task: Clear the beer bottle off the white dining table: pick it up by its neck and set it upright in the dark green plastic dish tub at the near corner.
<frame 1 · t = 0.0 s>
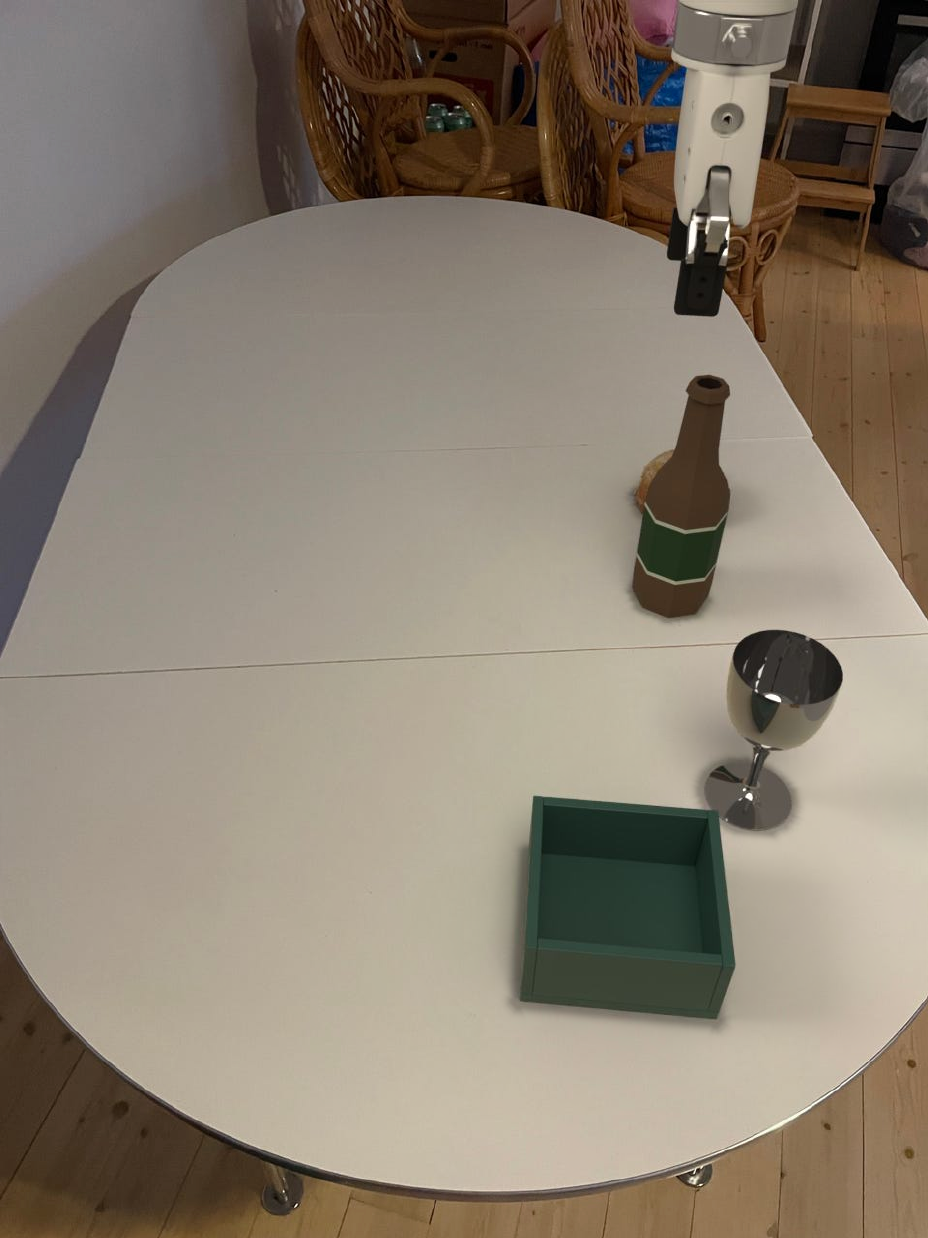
hand: (690, 285, 80), 34 cm above the table, tool pointing down, fingers open, 9 cm apart
beer bottle: (669, 596, 106), on the table
wine glass: (747, 796, 87), on the table
bread roll: (679, 505, 117), on the table
dish tub: (616, 930, 77), on the table
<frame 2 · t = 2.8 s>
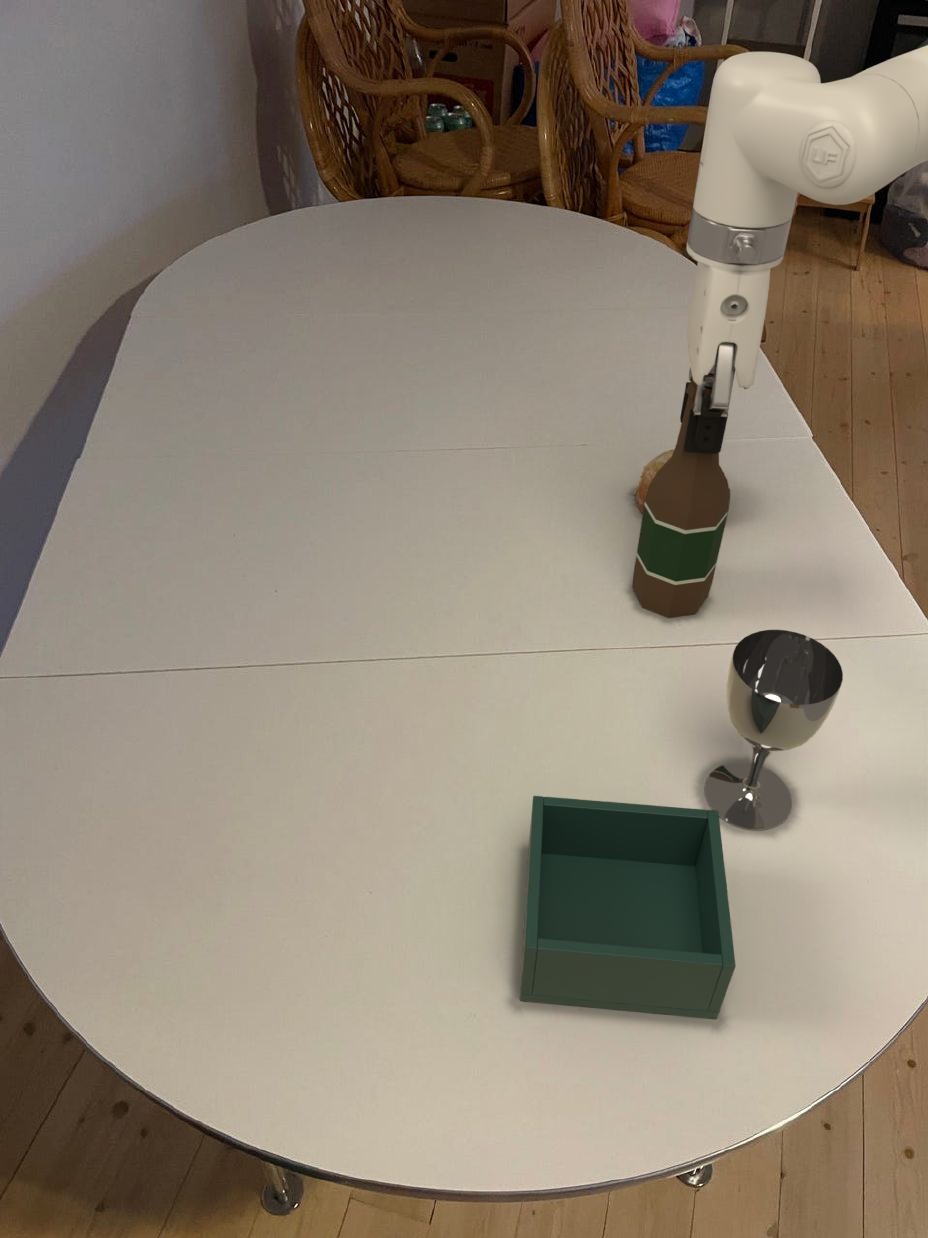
hand: (699, 435, 93), 19 cm above the table, tool pointing down, fingers closed on beer bottle, 3 cm apart
beer bottle: (669, 596, 106), on the table, touching gripper
everything else where it was.
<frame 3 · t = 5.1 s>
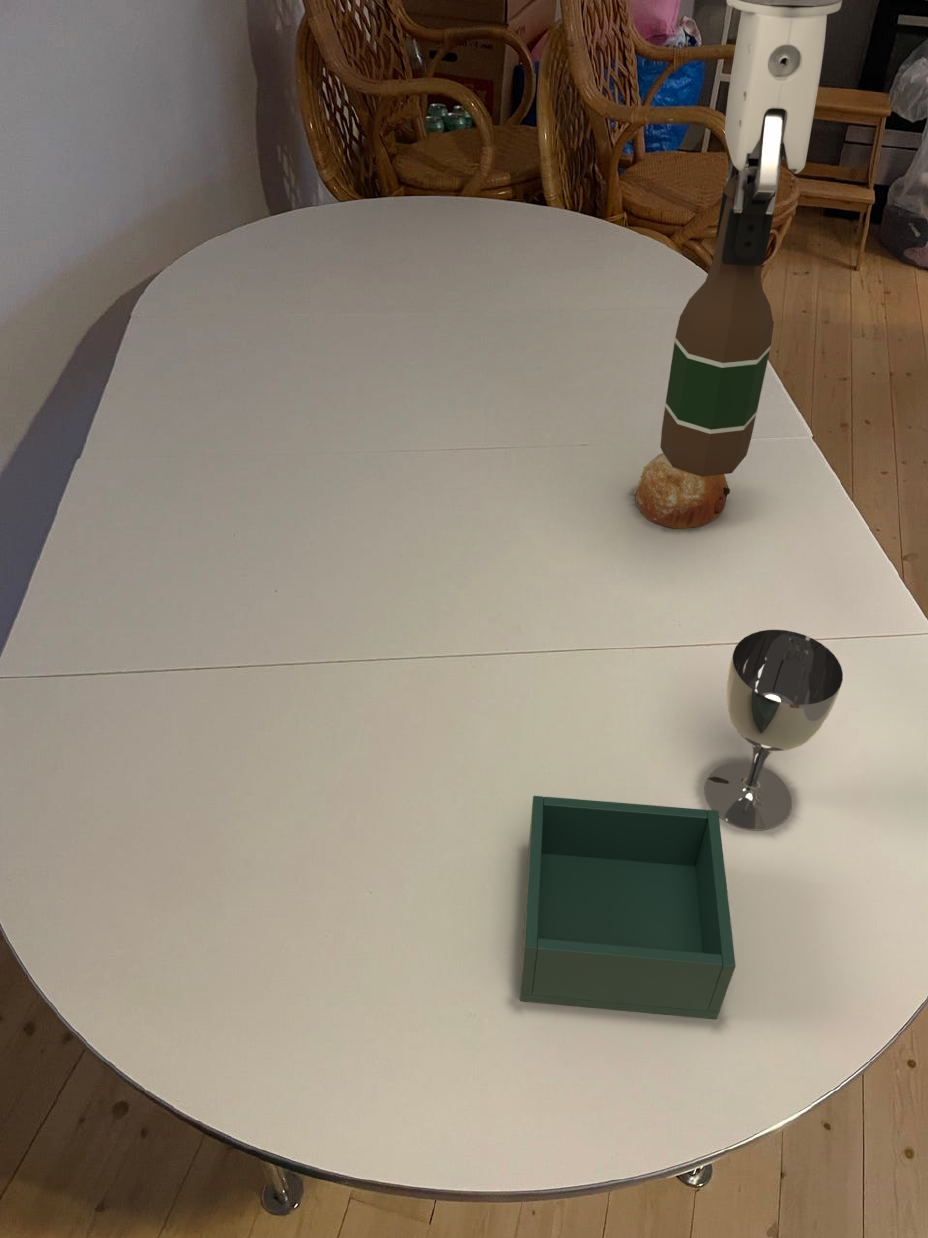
hand: (739, 249, 81), 36 cm above the table, tool pointing down, fingers closed on beer bottle, 3 cm apart
beer bottle: (702, 456, 94), point 17 cm above the table, touching gripper
everything else where it was.
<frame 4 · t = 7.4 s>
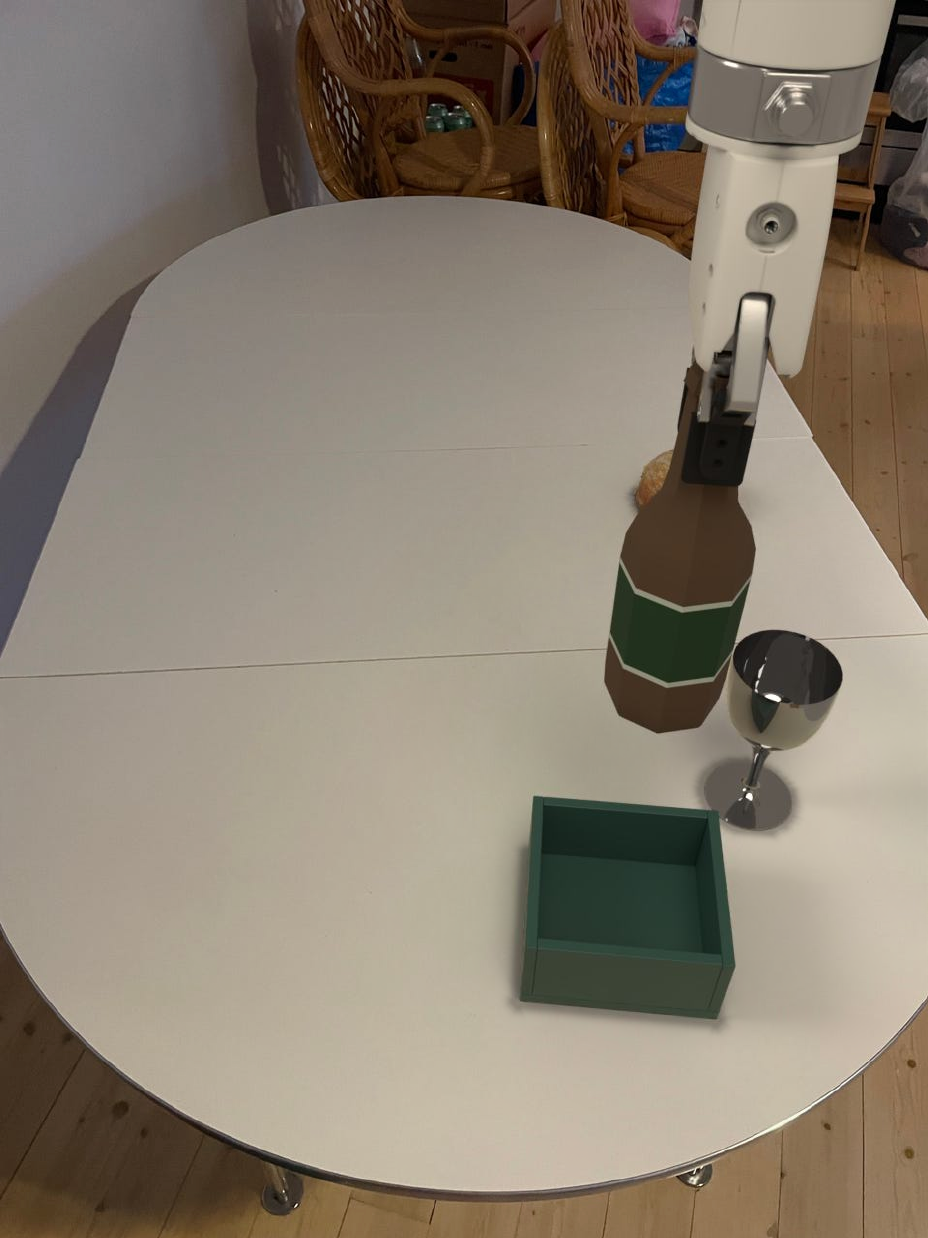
hand: (708, 455, 57), 37 cm above the table, tool pointing down, fingers closed on beer bottle, 3 cm apart
beer bottle: (660, 696, 69), point 18 cm above the table, touching gripper
everything else where it was.
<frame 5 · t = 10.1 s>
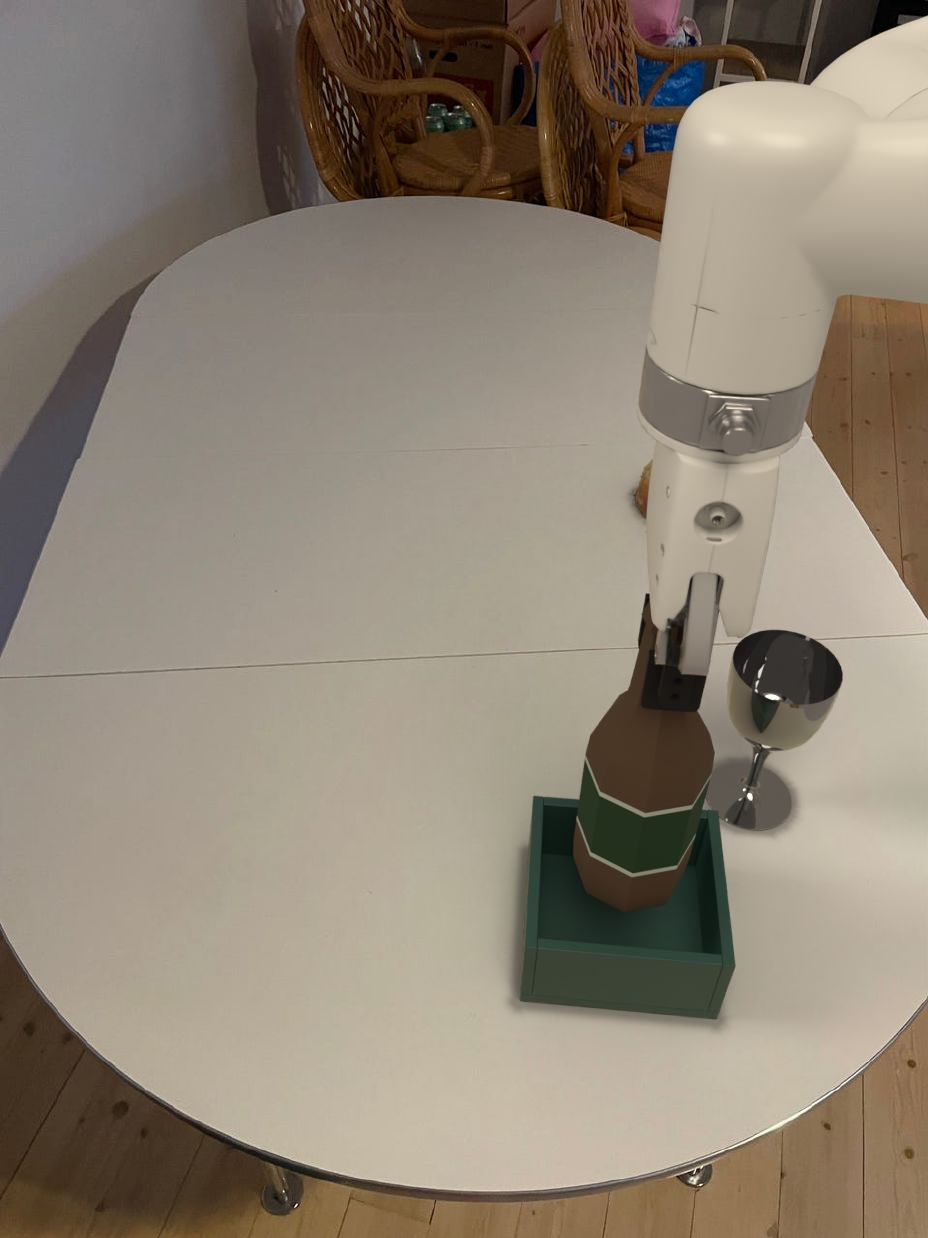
hand: (667, 675, 59), 26 cm above the table, tool pointing down, fingers closed on beer bottle, 3 cm apart
beer bottle: (627, 869, 72), point 8 cm above the table, touching gripper
everything else where it was.
when the fingers open (20 cm above the table, at t = 12.0 s): beer bottle stays where it is, resting on dish tub.
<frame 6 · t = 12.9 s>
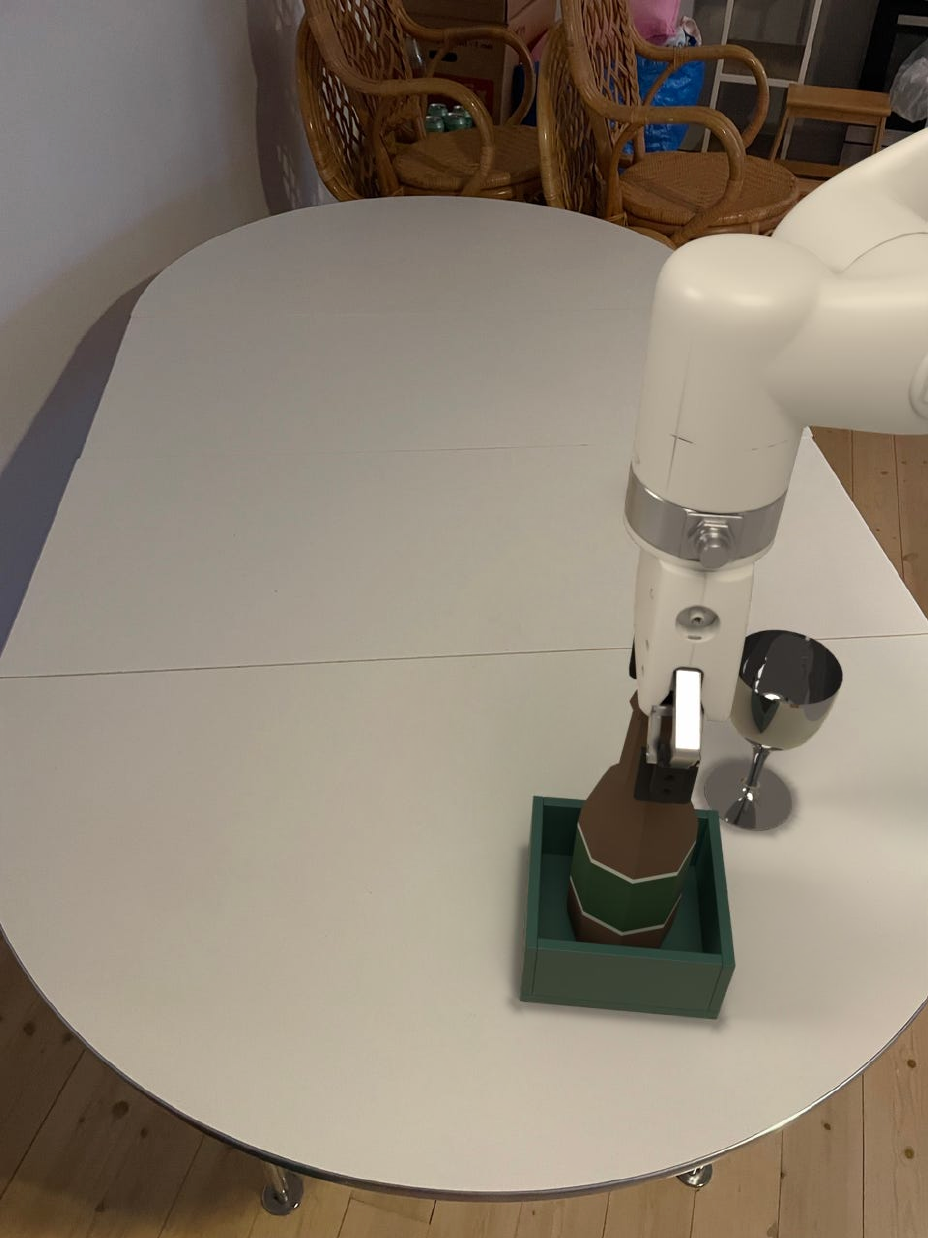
hand: (657, 734, 63), 21 cm above the table, tool pointing down, fingers open, 9 cm apart
beer bottle: (617, 923, 76), point 1 cm above the table, touching dish tub
everything else where it was.
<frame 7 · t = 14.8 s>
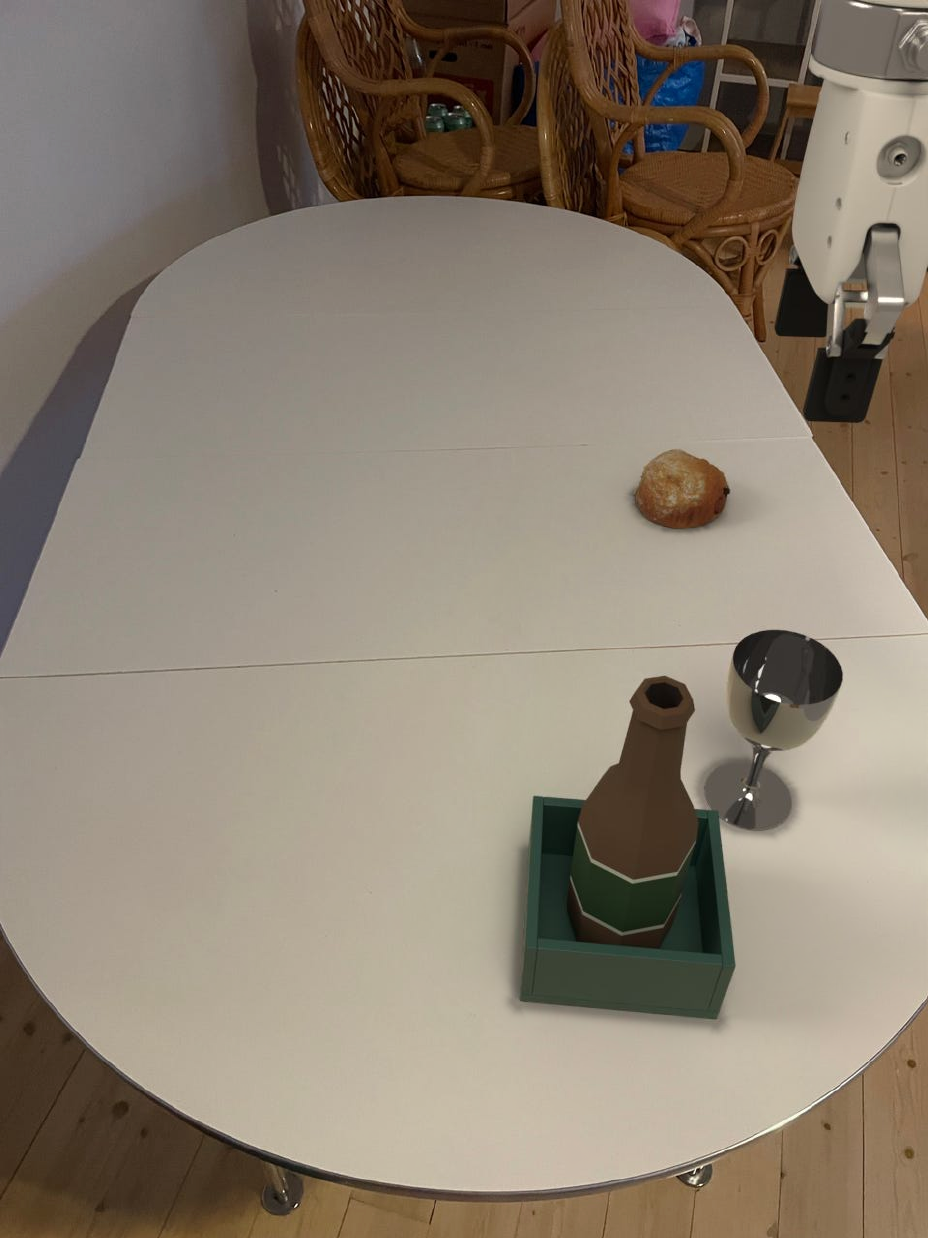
hand: (815, 374, 59), 39 cm above the table, tool pointing down, fingers open, 9 cm apart
nothing on the table moved.
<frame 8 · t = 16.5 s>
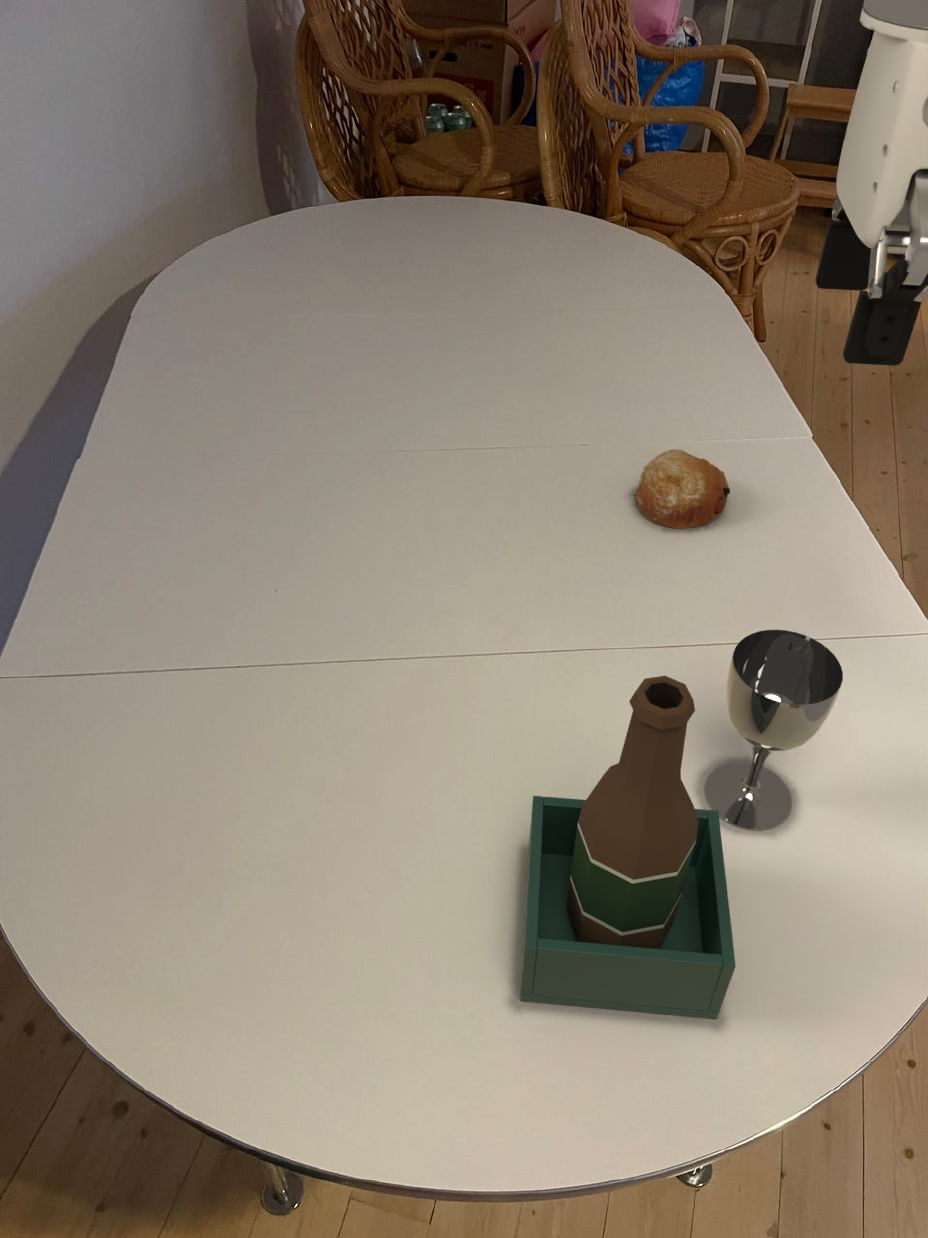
hand: (854, 322, 62), 40 cm above the table, tool pointing down, fingers open, 9 cm apart
nothing on the table moved.
at the end: beer bottle inside the target area in the dish tub (0.0 cm from its centre), point 0.8 cm above the dish tub's base; beer bottle tilted 0°; wine glass moved 0.2 cm from its start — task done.
